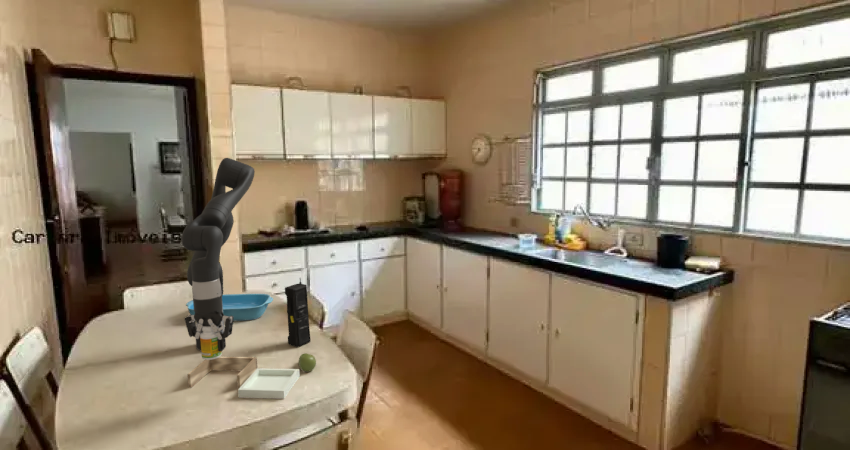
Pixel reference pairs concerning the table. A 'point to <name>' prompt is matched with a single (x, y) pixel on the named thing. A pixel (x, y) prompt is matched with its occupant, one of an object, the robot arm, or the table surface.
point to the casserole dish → (241, 306)
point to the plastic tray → (269, 383)
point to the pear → (307, 362)
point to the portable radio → (297, 314)
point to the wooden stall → (224, 368)
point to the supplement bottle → (209, 344)
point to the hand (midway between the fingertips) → (211, 349)
